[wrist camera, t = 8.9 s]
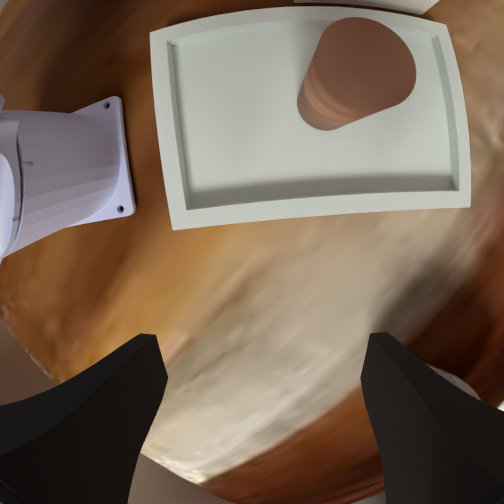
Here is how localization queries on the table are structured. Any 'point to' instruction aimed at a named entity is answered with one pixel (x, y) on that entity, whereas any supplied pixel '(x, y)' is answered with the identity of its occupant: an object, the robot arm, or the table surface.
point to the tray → (299, 123)
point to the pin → (355, 74)
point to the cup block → (384, 4)
